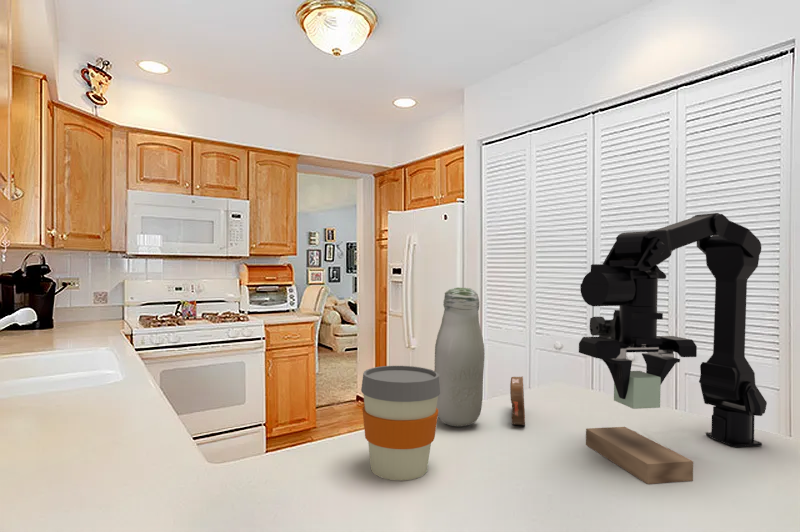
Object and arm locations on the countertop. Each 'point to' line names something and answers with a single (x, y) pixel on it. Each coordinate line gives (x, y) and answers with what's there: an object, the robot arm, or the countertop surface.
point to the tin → (517, 401)
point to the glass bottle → (460, 359)
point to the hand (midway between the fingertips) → (636, 397)
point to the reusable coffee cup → (400, 419)
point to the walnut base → (640, 455)
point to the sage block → (641, 391)
